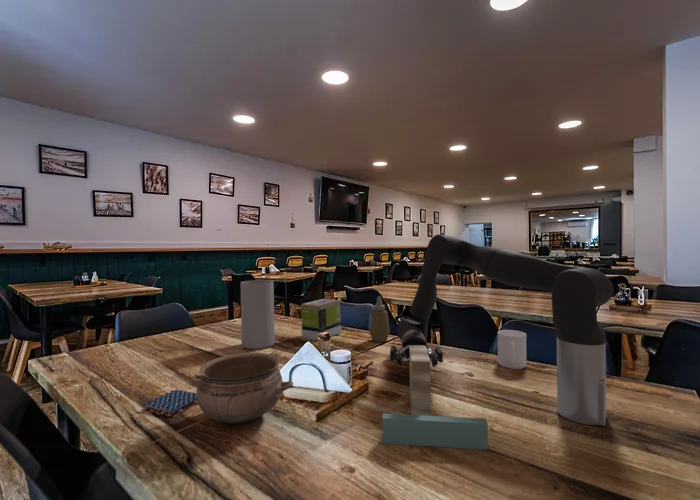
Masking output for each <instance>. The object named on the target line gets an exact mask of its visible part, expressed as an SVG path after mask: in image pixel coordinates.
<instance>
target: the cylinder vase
mask: <svg viewBox="0 0 700 500" xmlns="http://www.w3.org/2000/svg"><path fill="white" fill-rule="evenodd" d="M274 285H275V284H274V280H272V279H271V280H270V279H255V280H252V279H251V280H244V281H240V319H241V320H240V321H241V325H240V326H241V328H240V329H241V346H242V347H243V348H245V349H248V350H261V349H267V348H270V347H272V346H273V345H274V344H275V337H276V336H275V295H274V293H275V291H274V290H275V289H274V287H275V286H274Z"/></svg>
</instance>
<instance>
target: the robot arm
mask: <svg viewBox="0 0 700 500" xmlns="http://www.w3.org/2000/svg"><path fill="white" fill-rule="evenodd" d="M443 264H444V265H455V266H461V267H467V268H470V269H473V270H475V271H476V272H478V273H479V274H481V275H482V276H483V277H486V278H487V279H489V280H492V281H495V282H499V283H501V284H504V285H508V286H512V287H513V286H514V287H521V288H526V289H527V288H528V289H535V290H537V289H538V290H542V291H547V292H551V306H552V307H551V313H552V323H553V326H554V328H555V330H556V410H557V414H559V415H560V416H561V417H563V418H565V419H567V420H569V421H571V422H574V423H578V424H583V425H588V426H589V425H590V426H591V425H593V426H596V425H597V426H603V427H605V426H606V419H607V374H606V373H607V372H606V360H607V359H606V352H607V351H606V349H607V348H606V346H607V345H606V342H607V339H606V338H607V335H606V331H605V329H604V328H603V327H601V326H600V325H599V322H598V317H597V315H598V314H597V308H598V307H601V306H603V305H605V304H607V303H608V302H609V301H610V300H611V299H612V297H613V295H614V290H615V289H614V285H613V283H612V281H611V279H610V278H609V277H608V275H606V274H605V273H603V272H602V271H600V270H597V269H595V268H592V267H591V268H589V267H581V266H576V265H575V266H574V265H567V264H561V263H556V262H552V261H548V260H544V259H541V258H538V257H536V256H532V255H528V254H525V253H522V252H520V251H519V252H518V251H515V250H510V249H506V248H502V247H496V246H490V245H489V246H487V245H485V246H484V245H478V244H474V243H471V242H469V241H466V240H464V239H462V238H459V237H457V236H452V235H446V234H436V235H434V236H432V237H431V239H430V240H429V242H428V245H427V247H426V252H425V256H424V260H423V265H422V270H421V275H420V280H419V284H418V288H417V290H416V292H415V293H416V294H415V296H414V299H413V301H412V302H411V306H410V307H409V313H410V315H411V316H412V317H413V318H414V319H416V320H418V321H419V322H420V323H419V322H417V321H415V320H411V319H409V318H402V319H401V320H400V321H399V322H398V324H397V327H396V334H397V336H398V338H399V339H400V340H401V347H400V348H398V347H397V346H395V345H391V347H390V351H389V361H392V362H394V361H396V364H397V365H399V367H402V366H403V362H408V361H410V352H409V345H424V346H426V348H427V352H428V356H429V359H430V364H431V367H433V368H436V366H438V365H439V363H444V352H443V350H442V349H441V347H439V346H436V347H435V348H434V349H431V348H430V347H429V346H428V343H427V338H428V326H429V319H430V317H431V313H432V312H433V309H434V307H435V305H436V301H437V298H438V295H437V294H438V289H437V288H438V287H437V274H438V271H439V270H440V267H441V266H442V265H443Z"/></svg>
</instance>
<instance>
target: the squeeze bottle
mask: <svg viewBox="0 0 700 500" xmlns="http://www.w3.org/2000/svg"><path fill="white" fill-rule="evenodd" d="M388 313H389V312H388V311H387V310H386V305H385V304H383V301H382V296H380V295H379V296H377V298H376V302H375V304H373V310H372V311H371V312H370V322H369V323H370V324H369V334H370V337H371V340H372V341H373V342H374V343H385V342H387V340H388V338H389V334H390V325H389V324H390V323H389V315H388Z"/></svg>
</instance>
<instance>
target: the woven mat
mask: <svg viewBox="0 0 700 500" xmlns="http://www.w3.org/2000/svg"><path fill="white" fill-rule="evenodd" d="M196 393H197V392H194V391H193V392H192V391H187V390H182V389H181V390H180V389H176V390H173V389H172V390H170V392H165V395H164V394H163V395H160V397H156V398H154V400H150V401H149V402H147V403H143V406H144V407H143V409H142V410H143V412H148V413H151V414H152V413H154V414H156V415H159V416H160V415H164V416H168V417H172V418H175V417H177V416H178V415H180V414H182V413H184V412H186V411H187V410H189V409H190V408H193V407H195V406H196V405H198V403H197V395H196Z"/></svg>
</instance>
